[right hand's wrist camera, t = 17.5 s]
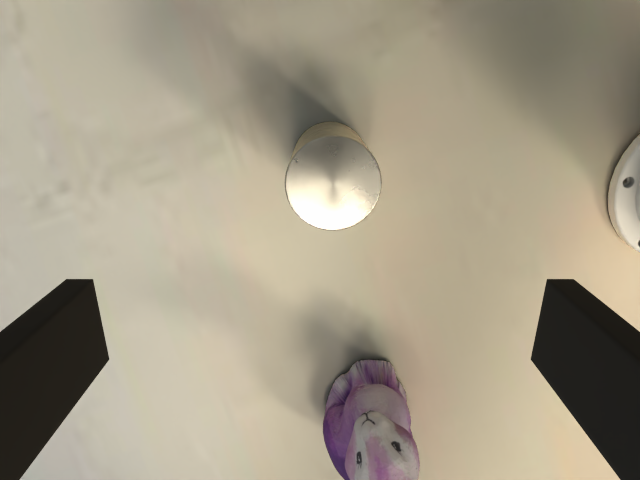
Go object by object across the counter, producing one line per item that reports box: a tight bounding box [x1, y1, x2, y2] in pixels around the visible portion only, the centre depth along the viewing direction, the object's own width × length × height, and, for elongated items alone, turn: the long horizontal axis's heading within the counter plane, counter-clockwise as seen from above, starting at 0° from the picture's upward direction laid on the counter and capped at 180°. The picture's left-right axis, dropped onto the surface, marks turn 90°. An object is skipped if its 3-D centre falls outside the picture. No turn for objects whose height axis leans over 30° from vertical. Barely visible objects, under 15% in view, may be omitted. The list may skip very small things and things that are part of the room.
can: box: [285, 122, 382, 230], centre depth 30 cm, size 6×6×9 cm
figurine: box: [323, 360, 420, 480], centre depth 35 cm, size 9×10×15 cm
